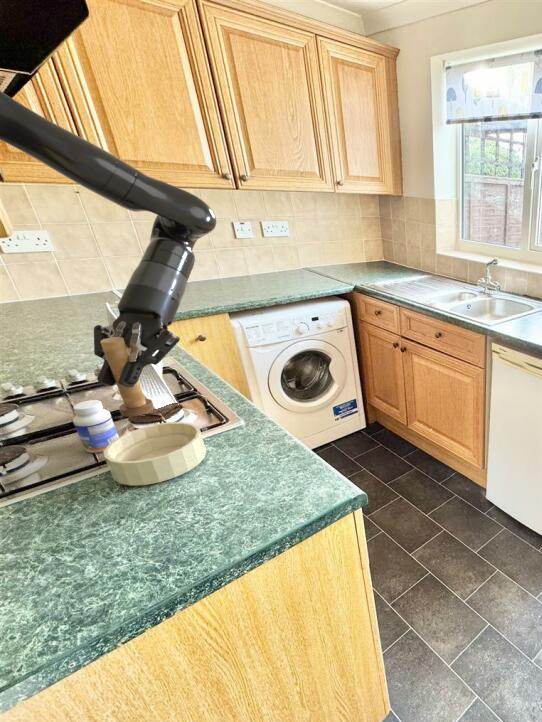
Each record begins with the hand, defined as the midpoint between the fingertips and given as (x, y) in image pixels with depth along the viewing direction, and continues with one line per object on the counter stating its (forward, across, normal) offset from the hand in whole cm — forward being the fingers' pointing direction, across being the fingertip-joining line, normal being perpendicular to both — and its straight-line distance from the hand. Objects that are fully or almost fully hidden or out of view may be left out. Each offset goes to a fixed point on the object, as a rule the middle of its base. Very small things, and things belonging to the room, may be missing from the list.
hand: (115, 384), depth 68 cm
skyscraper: (-3, -19, +32) cm, 37 cm away
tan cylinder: (+3, 0, +6) cm, 6 cm away
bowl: (+11, -2, +18) cm, 21 cm away
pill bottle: (+8, -18, +21) cm, 29 cm away
